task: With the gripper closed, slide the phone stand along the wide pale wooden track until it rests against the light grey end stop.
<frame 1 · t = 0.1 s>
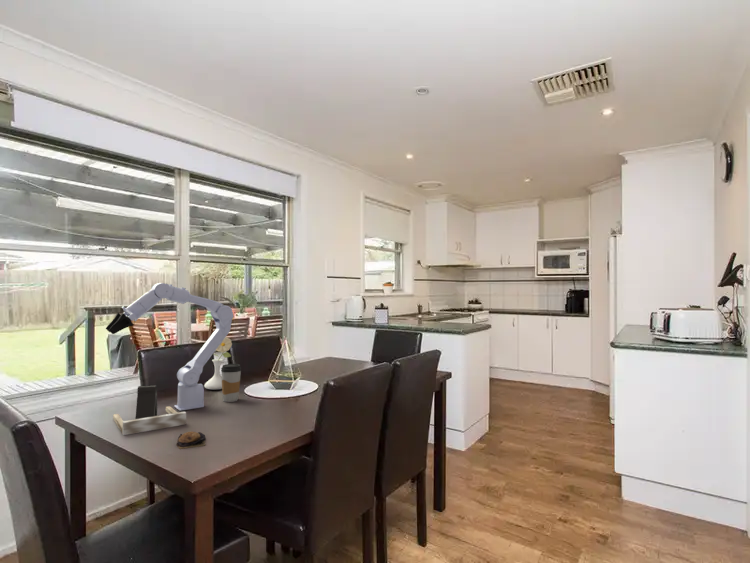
hand: (109, 331, 154), 32 cm above the table, tool tilted 50°, fingers open, 7 cm apart
flower in vase: (218, 389, 204), on the table
phone stand: (146, 419, 156), on the table
coffee cup: (230, 400, 183), on the table
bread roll: (191, 444, 133), on the table
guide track: (148, 420, 153), on the table
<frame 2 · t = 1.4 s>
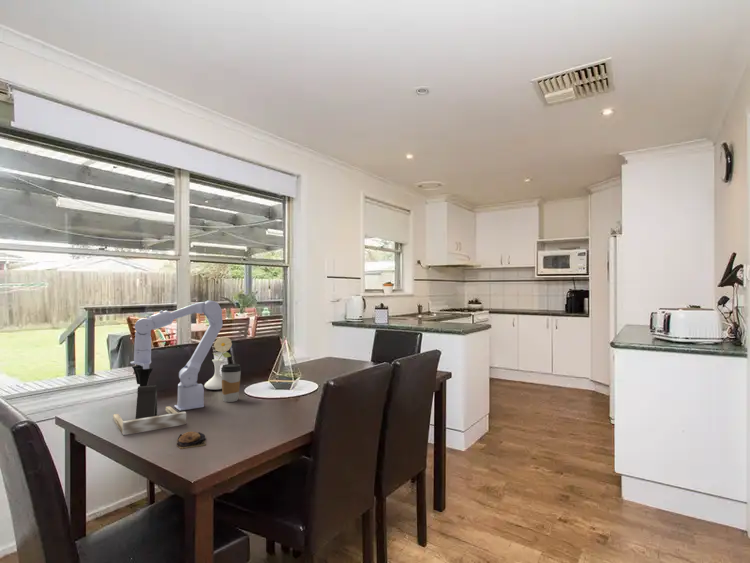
hand: (141, 385, 164), 10 cm above the table, tool pointing down, fingers open, 5 cm apart
nothing on the table moved.
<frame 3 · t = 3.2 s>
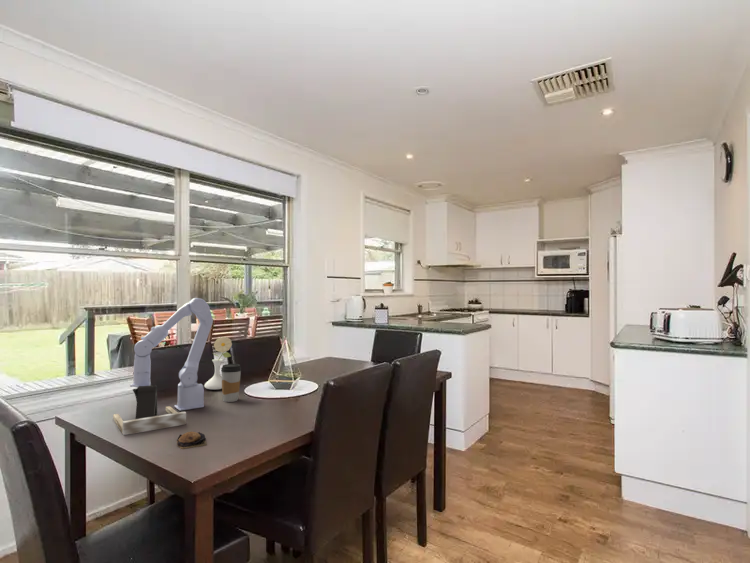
hand: (141, 407, 163), 2 cm above the table, tool pointing down, fingers closed
nothing on the table moved.
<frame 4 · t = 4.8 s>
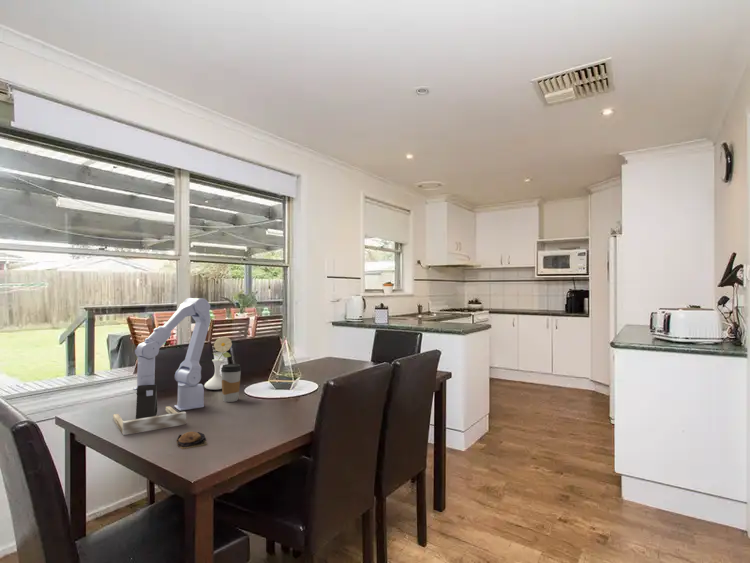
hand: (145, 411, 158), 2 cm above the table, tool pointing down, fingers closed, pressing on phone stand
phone stand: (146, 417, 155), point 1 cm above the table, touching gripper
everything else where it was.
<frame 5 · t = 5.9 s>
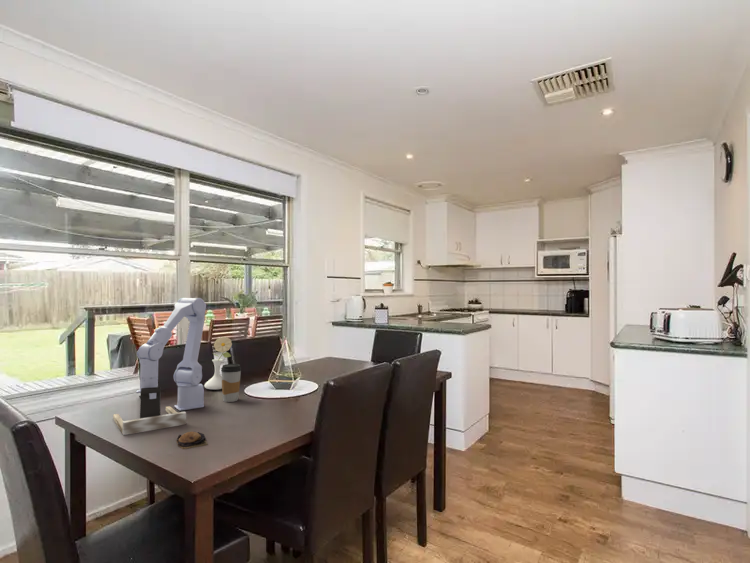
hand: (148, 415, 154), 2 cm above the table, tool pointing down, fingers closed, pressing on phone stand
phone stand: (150, 420, 151), point 1 cm above the table, touching gripper
everything else where it was.
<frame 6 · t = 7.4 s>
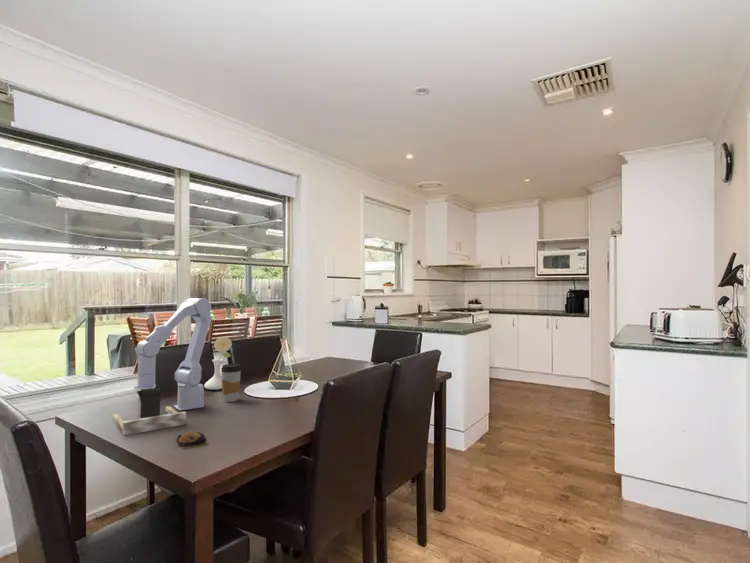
hand: (145, 409, 157), 3 cm above the table, tool pointing down, fingers closed
phone stand: (150, 423, 151), on the table
everything else where it was.
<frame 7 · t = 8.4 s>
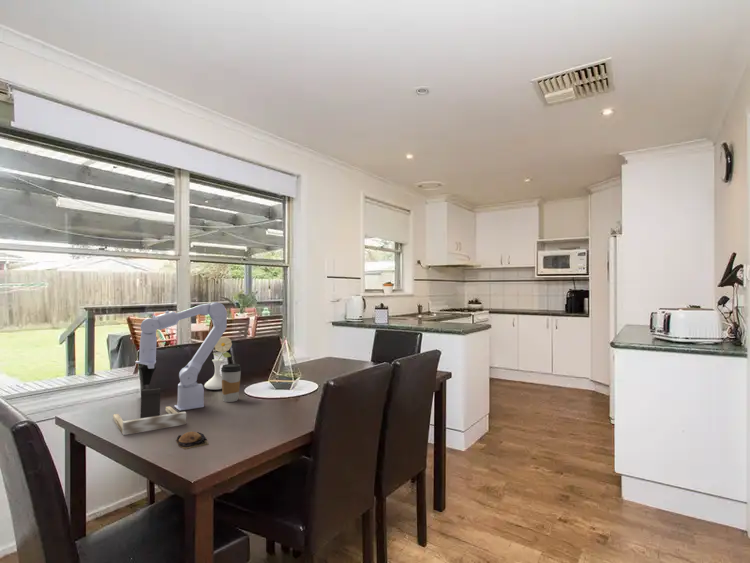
hand: (146, 384, 165), 10 cm above the table, tool pointing down, fingers closed
nothing on the table moved.
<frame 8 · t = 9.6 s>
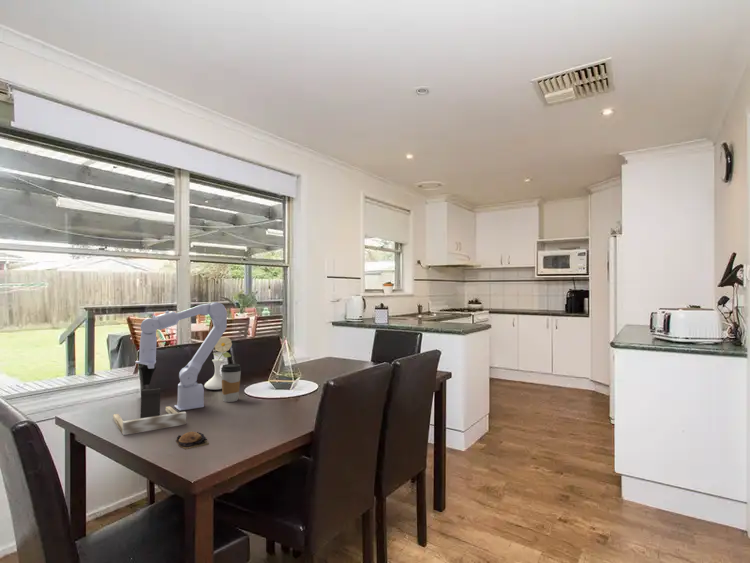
hand: (146, 384, 165), 10 cm above the table, tool pointing down, fingers closed
nothing on the table moved.
at the end: phone stand inside the target area (2.4 cm from its centre), on the table; phone stand tilted 0°; phone stand moved 5.8 cm from its start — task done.
